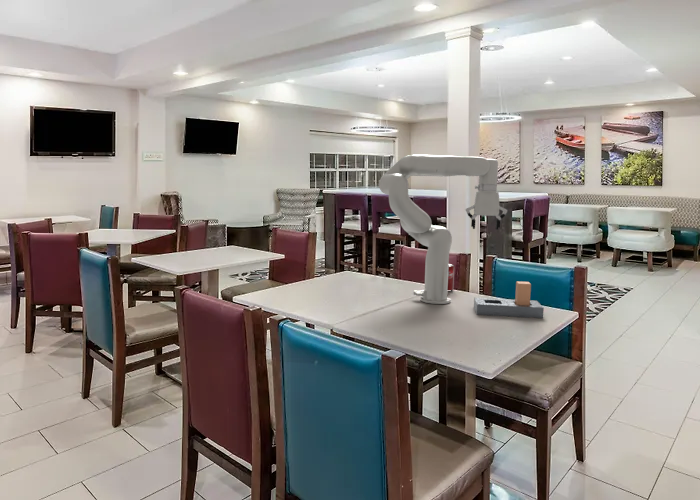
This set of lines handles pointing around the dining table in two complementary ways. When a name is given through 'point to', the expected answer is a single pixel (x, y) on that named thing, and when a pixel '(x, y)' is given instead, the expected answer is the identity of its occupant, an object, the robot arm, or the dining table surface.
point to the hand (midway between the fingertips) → (485, 229)
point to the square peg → (522, 293)
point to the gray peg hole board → (507, 308)
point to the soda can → (450, 277)
